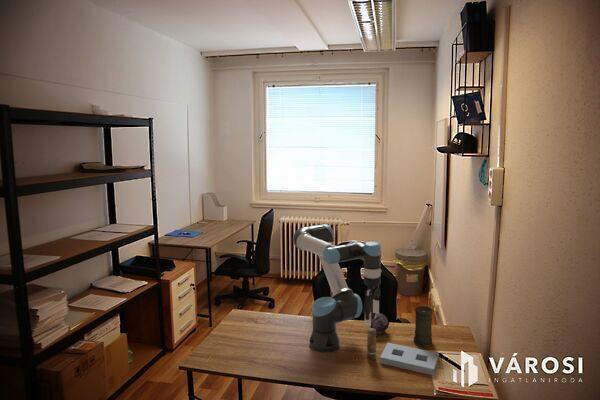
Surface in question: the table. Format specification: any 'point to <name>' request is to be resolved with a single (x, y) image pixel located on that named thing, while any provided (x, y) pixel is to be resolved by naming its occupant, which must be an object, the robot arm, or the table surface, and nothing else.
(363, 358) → the table surface
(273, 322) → the table surface
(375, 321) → the rock
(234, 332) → the table surface
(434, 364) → the board
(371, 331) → the walnut peg
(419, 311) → the container
